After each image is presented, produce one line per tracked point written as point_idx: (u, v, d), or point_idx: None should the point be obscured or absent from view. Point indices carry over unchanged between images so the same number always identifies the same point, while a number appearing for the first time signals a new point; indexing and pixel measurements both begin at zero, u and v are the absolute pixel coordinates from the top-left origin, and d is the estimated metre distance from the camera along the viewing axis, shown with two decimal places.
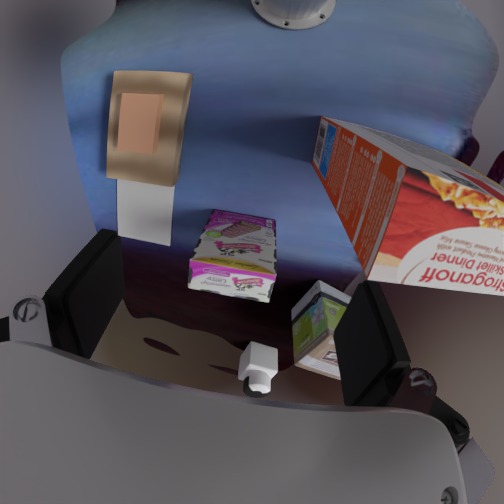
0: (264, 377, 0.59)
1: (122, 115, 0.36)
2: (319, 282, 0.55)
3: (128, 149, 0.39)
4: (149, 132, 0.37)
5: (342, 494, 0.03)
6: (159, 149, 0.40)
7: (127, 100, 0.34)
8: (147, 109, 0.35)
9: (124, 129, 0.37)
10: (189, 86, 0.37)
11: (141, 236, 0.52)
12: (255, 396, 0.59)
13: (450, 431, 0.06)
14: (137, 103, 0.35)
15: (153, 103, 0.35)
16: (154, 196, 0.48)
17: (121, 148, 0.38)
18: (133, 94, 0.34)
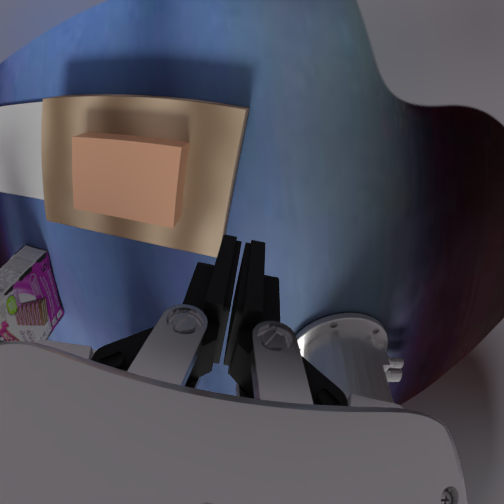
0: None
1: (133, 148, 0.18)
2: None
3: (75, 161, 0.18)
4: (105, 205, 0.20)
5: (342, 494, 0.03)
6: None
7: (163, 160, 0.18)
8: (144, 203, 0.20)
9: (106, 154, 0.18)
10: None
11: None
12: None
13: (312, 401, 0.06)
14: (156, 183, 0.19)
15: (156, 216, 0.20)
16: (39, 170, 0.24)
17: (75, 146, 0.18)
18: (175, 174, 0.19)
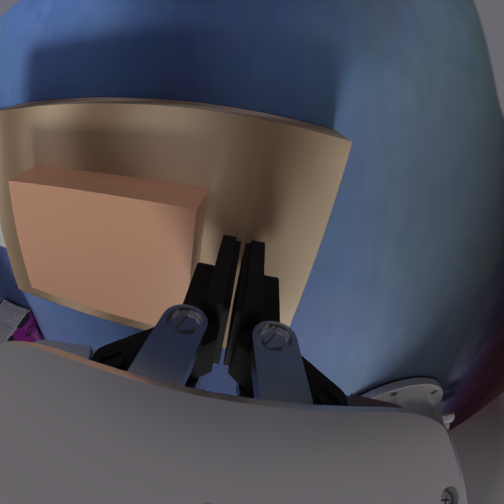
0: None
1: (104, 206, 0.09)
2: None
3: (18, 221, 0.10)
4: (74, 291, 0.12)
5: (342, 494, 0.03)
6: None
7: (162, 231, 0.10)
8: (134, 297, 0.12)
9: (61, 213, 0.10)
10: None
11: None
12: None
13: (312, 401, 0.06)
14: (152, 269, 0.11)
15: (157, 315, 0.12)
16: None
17: (15, 197, 0.09)
18: (186, 258, 0.10)
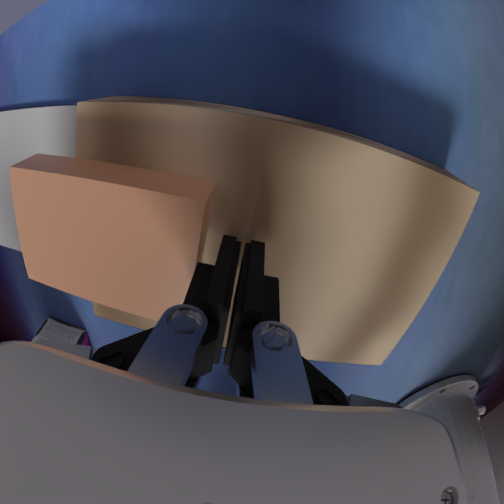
0: None
1: (109, 195, 0.09)
2: None
3: (18, 209, 0.10)
4: (72, 283, 0.11)
5: (342, 494, 0.03)
6: None
7: (168, 223, 0.10)
8: (135, 290, 0.11)
9: (63, 202, 0.09)
10: None
11: None
12: None
13: (312, 401, 0.06)
14: (155, 261, 0.10)
15: (157, 310, 0.12)
16: None
17: (15, 183, 0.09)
18: (192, 251, 0.10)
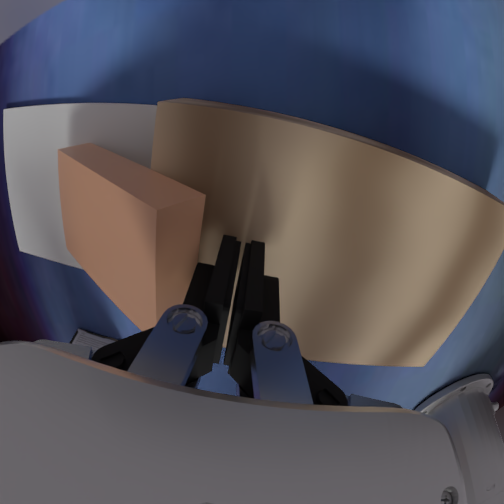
0: None
1: (101, 188, 0.09)
2: None
3: (61, 186, 0.12)
4: (87, 264, 0.13)
5: (342, 494, 0.03)
6: None
7: (134, 227, 0.09)
8: (120, 288, 0.11)
9: (80, 187, 0.11)
10: None
11: (12, 181, 0.14)
12: None
13: (312, 401, 0.06)
14: (130, 264, 0.10)
15: (136, 315, 0.11)
16: None
17: (60, 164, 0.12)
18: (151, 263, 0.09)
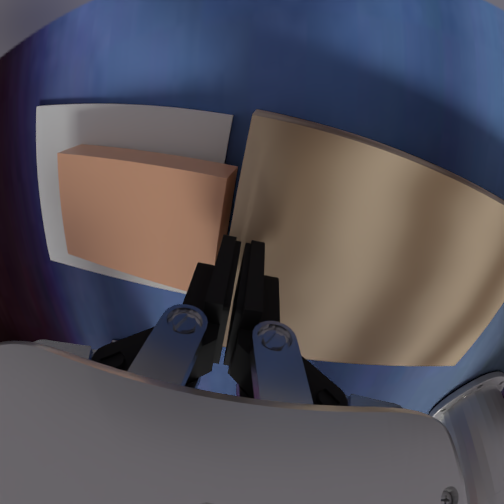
0: None
1: (146, 175, 0.11)
2: None
3: (63, 190, 0.12)
4: (109, 256, 0.14)
5: (342, 494, 0.03)
6: (328, 329, 0.15)
7: (196, 197, 0.11)
8: (165, 260, 0.13)
9: (105, 181, 0.12)
10: None
11: (45, 185, 0.14)
12: None
13: (312, 401, 0.06)
14: (184, 232, 0.12)
15: (184, 279, 0.14)
16: None
17: (62, 167, 0.12)
18: (215, 222, 0.12)
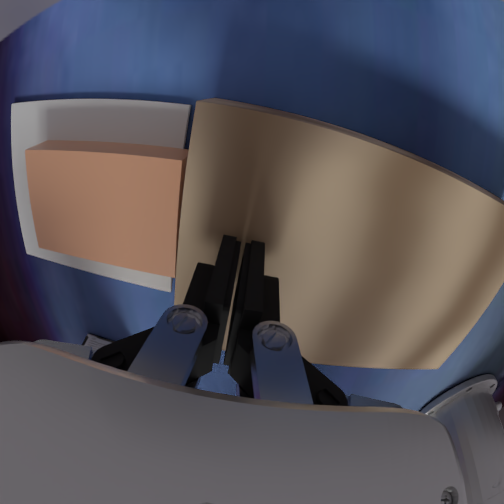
0: None
1: (107, 163, 0.11)
2: None
3: (31, 185, 0.12)
4: (77, 245, 0.14)
5: (342, 494, 0.03)
6: (292, 327, 0.14)
7: (154, 181, 0.12)
8: (130, 244, 0.13)
9: (70, 173, 0.11)
10: None
11: (20, 180, 0.14)
12: None
13: (312, 401, 0.06)
14: (145, 215, 0.12)
15: (149, 261, 0.14)
16: None
17: (30, 163, 0.11)
18: (174, 203, 0.12)
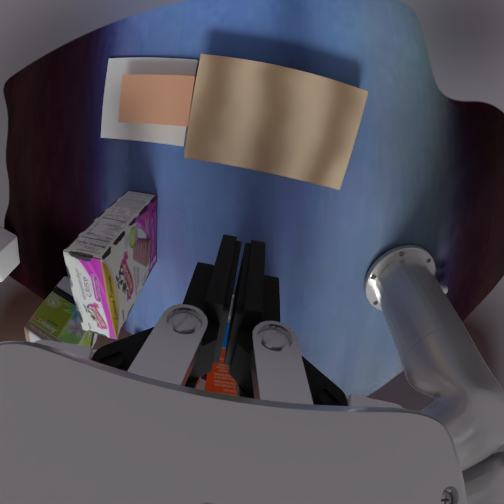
0: None
1: (164, 78, 0.27)
2: None
3: (123, 90, 0.28)
4: (142, 116, 0.29)
5: (342, 494, 0.03)
6: (239, 143, 0.30)
7: (183, 84, 0.27)
8: (169, 112, 0.29)
9: (146, 83, 0.27)
10: None
11: (108, 95, 0.29)
12: None
13: (312, 401, 0.06)
14: (178, 98, 0.28)
15: (177, 119, 0.30)
16: None
17: (124, 80, 0.27)
18: (190, 92, 0.28)
